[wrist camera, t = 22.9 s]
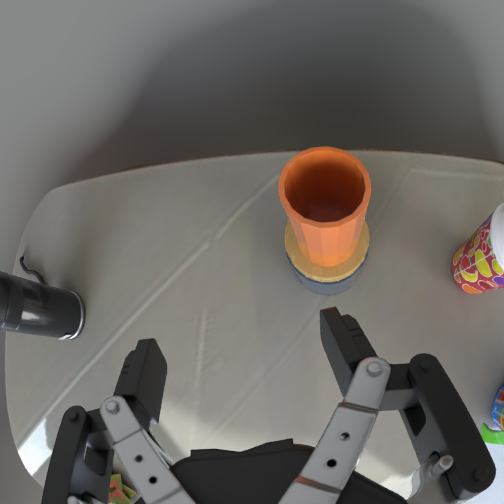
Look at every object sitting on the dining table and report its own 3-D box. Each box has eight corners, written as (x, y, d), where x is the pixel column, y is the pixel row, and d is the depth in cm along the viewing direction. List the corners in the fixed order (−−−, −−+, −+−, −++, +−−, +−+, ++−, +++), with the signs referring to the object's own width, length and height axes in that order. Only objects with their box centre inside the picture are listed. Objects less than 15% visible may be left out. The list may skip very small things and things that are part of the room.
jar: (285, 282, 37) (270, 265, 28) (307, 222, 38) (299, 187, 29) (348, 304, 34) (356, 294, 25) (368, 240, 35) (379, 210, 26)
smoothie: (474, 233, 31) (548, 160, 12) (497, 284, 28) (587, 241, 10) (434, 256, 32) (509, 186, 14) (457, 312, 29) (553, 284, 11)
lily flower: (89, 482, 35) (74, 487, 30) (100, 450, 36) (83, 456, 32) (132, 520, 30) (118, 528, 26) (148, 492, 32) (133, 502, 28)
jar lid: (276, 267, 29) (271, 262, 27) (302, 197, 31) (300, 187, 29) (353, 293, 26) (355, 290, 24) (375, 218, 28) (378, 209, 26)
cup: (287, 255, 27) (264, 212, 18) (308, 200, 28) (294, 139, 19) (347, 274, 25) (358, 240, 16) (365, 217, 26) (378, 159, 17)
